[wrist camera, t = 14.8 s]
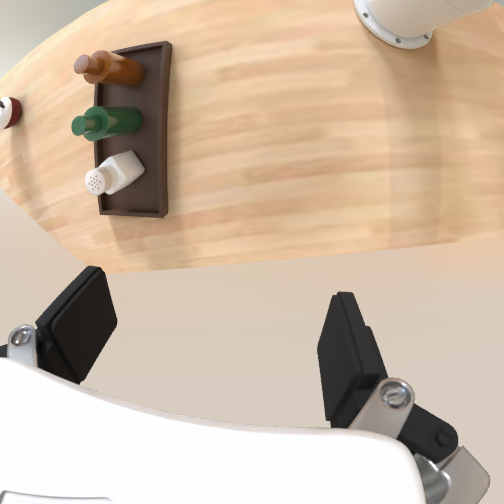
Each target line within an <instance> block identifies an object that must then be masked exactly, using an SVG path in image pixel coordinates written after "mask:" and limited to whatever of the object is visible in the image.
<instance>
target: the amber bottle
mask: <svg viewBox="0 0 504 504" xmlns="http://www.w3.org/2000/svg"><path fill="white" fill-rule="evenodd" d="M74 70H75V72H76V73H77V74H83V76H84V78H85V80H86V81H87V82H88V83H90V84H100V85H109V86H117V87H125V88H133V87H135V86H137V85H138V84H139V83H140V82H141V81H142V80H143V78H144V75H145V68H144V66H143V64H142V63H141V62H138V61H135V60H133V59H130V58H127V57H123V56H120V55H117V54H114V53H111V52H107V51H103V50H102V51H97V52H95V53H93V54H92V55H91V56H88V55H82V56H80V57H79V58H78V59H77V60H76V62H75V65H74Z"/></svg>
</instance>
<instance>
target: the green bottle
mask: <svg viewBox="0 0 504 504" xmlns="http://www.w3.org/2000/svg"><path fill="white" fill-rule="evenodd" d="M142 121H143V117H142V113H141V111H140V110H139V109H138V108H137V107H134V106H94V107H91V108H89V109H88V110H87V111H86V112H85V114H84V115H82V116H77V117H76V118H75V119H74V120H73V122H72V132H73V133H74V134H75V135H77V136H80V135H84V137H85V138H86V139H87V140H89V141H98V140H103V139H108V138H113V137H118V136H124V135H129V134H133V133H135V132H137V131H138V130H139V128H140V127H141V125H142Z"/></svg>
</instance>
